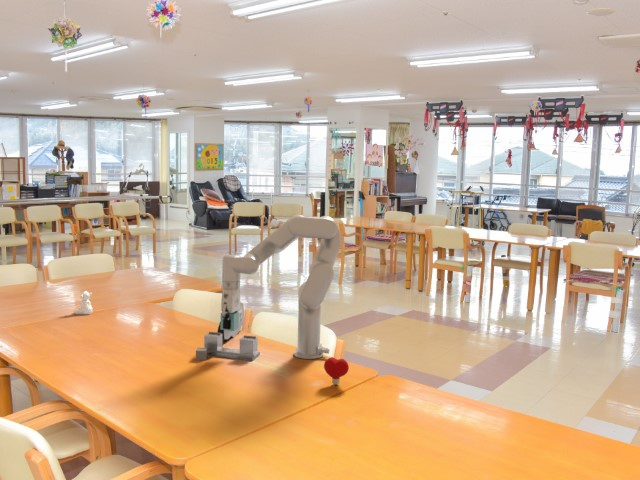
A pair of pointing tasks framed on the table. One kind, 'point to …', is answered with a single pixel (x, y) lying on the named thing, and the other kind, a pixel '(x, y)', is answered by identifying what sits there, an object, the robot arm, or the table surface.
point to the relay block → (201, 354)
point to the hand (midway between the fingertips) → (229, 326)
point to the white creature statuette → (84, 304)
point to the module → (234, 321)
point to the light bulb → (336, 369)
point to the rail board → (245, 353)
